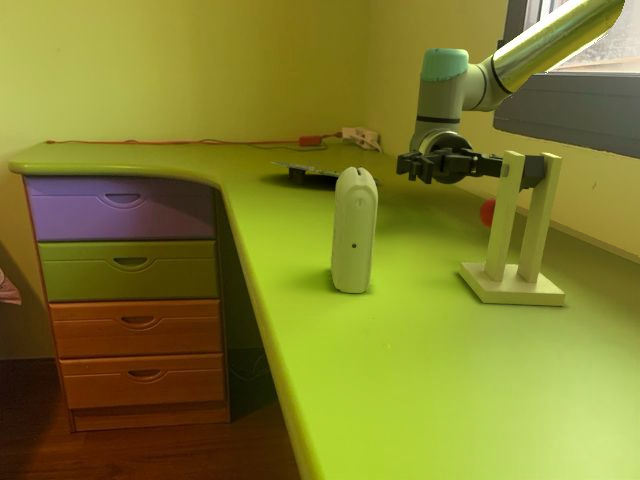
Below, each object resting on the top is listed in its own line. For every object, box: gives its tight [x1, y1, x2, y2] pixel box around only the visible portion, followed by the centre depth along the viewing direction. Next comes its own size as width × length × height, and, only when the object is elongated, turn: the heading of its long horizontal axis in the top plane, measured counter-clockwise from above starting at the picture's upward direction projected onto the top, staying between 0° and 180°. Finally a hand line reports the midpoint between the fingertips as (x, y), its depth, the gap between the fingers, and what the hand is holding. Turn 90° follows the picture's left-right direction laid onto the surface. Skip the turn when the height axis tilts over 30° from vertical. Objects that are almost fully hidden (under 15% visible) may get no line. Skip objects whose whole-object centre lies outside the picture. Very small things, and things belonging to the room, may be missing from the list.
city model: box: [269, 160, 384, 185], centre depth 143 cm, size 25×24×6 cm
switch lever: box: [478, 154, 544, 229], centre depth 81 cm, size 15×4×4 cm
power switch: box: [458, 150, 567, 307], centre depth 77 cm, size 12×9×15 cm
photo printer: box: [330, 166, 379, 294], centre depth 77 cm, size 10×4×12 cm, turn 2°
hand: (479, 176), depth 93 cm, fingers open, 13 cm apart
